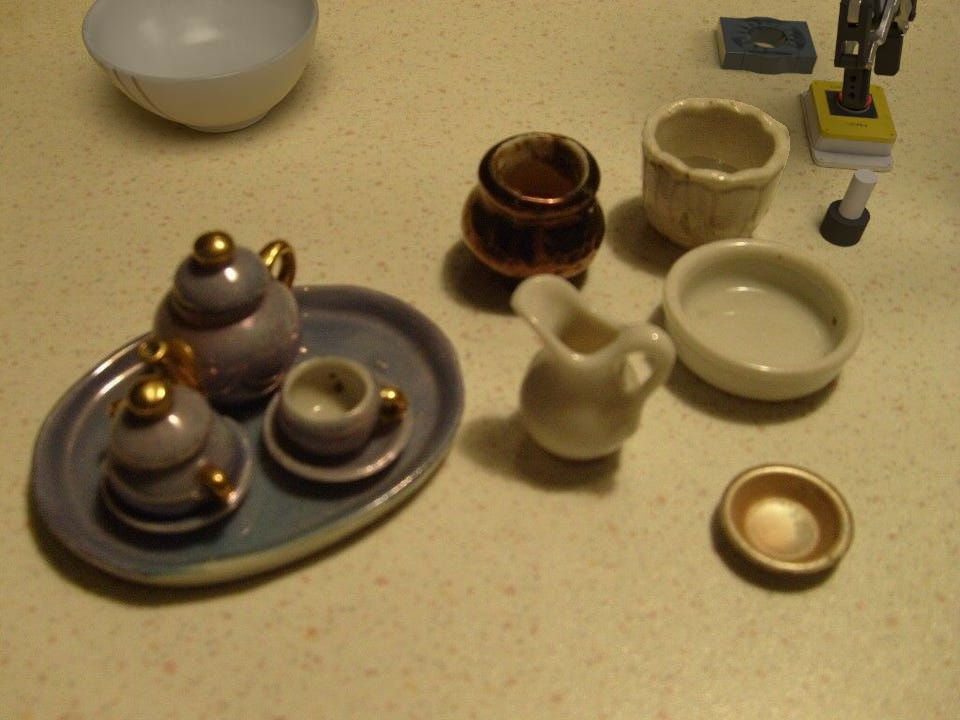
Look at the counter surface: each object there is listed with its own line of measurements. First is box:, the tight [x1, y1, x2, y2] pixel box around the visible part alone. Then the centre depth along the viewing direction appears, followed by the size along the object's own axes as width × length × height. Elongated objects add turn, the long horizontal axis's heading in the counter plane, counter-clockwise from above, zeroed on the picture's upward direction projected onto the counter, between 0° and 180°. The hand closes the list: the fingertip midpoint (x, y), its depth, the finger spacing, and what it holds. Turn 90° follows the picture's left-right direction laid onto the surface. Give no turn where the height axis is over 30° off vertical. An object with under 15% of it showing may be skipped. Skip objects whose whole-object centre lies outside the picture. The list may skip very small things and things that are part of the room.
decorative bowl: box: [81, 0, 320, 134], centre depth 104 cm, size 27×27×12 cm
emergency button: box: [800, 79, 898, 173], centre depth 105 cm, size 9×4×15 cm
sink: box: [715, 16, 818, 75], centre depth 117 cm, size 12×10×2 cm
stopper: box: [819, 169, 879, 247], centre depth 92 cm, size 4×4×8 cm
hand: (870, 90), depth 82 cm, fingers open, 8 cm apart
